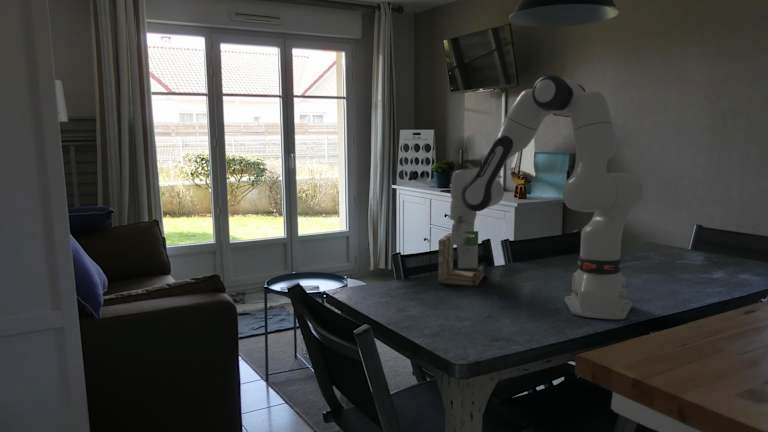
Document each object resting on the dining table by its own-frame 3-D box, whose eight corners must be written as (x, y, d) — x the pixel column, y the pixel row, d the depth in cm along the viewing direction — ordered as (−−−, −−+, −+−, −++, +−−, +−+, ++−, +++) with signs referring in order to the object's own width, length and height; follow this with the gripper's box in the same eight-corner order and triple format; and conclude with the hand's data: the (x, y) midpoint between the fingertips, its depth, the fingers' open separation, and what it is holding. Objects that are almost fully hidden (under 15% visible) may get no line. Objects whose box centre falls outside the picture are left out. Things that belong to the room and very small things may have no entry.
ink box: (476, 266, 202) (476, 229, 201) (477, 268, 198) (478, 231, 197) (456, 266, 202) (457, 229, 201) (458, 268, 198) (458, 231, 197)
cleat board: (476, 286, 191) (476, 242, 189) (438, 282, 196) (438, 240, 194) (484, 275, 206) (484, 234, 204) (448, 272, 210) (449, 233, 208)
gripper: (465, 219, 187) (465, 259, 189) (477, 211, 206) (476, 248, 208) (447, 218, 189) (446, 258, 191) (460, 210, 208) (459, 247, 210)
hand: (462, 253), depth 200 cm, fingers closed on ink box, 5 cm apart
